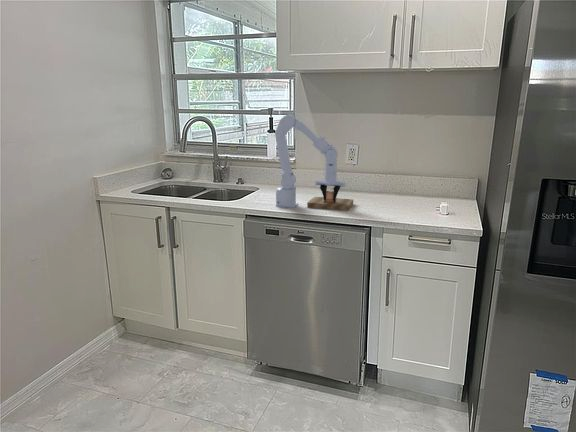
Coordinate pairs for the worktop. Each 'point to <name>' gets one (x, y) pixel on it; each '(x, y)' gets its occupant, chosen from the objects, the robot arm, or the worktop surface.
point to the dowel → (329, 196)
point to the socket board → (330, 204)
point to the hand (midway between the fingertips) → (329, 200)
